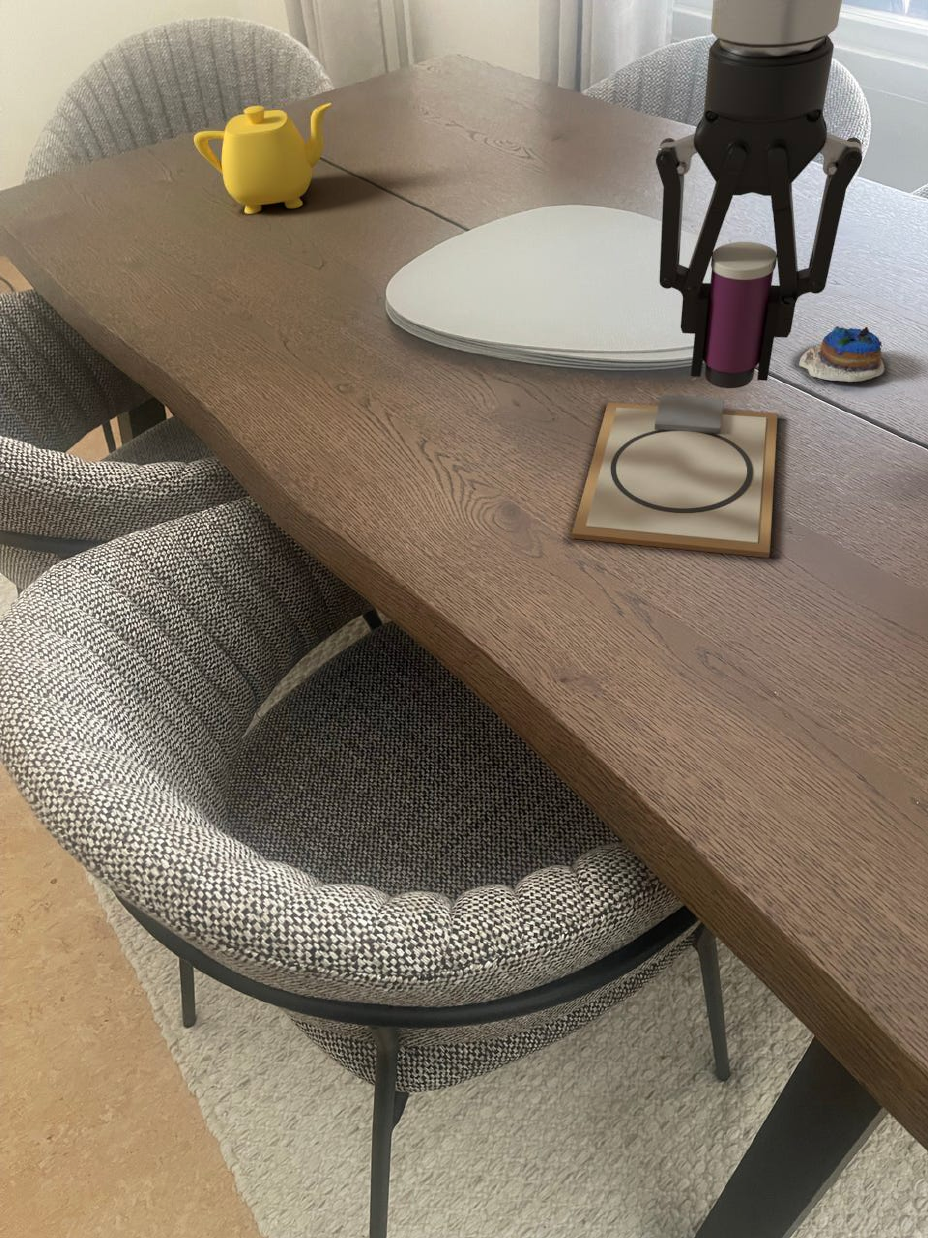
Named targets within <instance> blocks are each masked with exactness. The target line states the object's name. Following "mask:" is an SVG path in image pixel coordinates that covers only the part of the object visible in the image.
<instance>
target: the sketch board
mask: <svg viewBox="0 0 928 1238" xmlns="http://www.w3.org/2000/svg"><path fill="white" fill-rule="evenodd" d="M658 402H659V403H658V404H657V405H656V404H641V403H639V404H638V403H623V402H610V401H609V402H607V405H606V409H605V412H604V415H603V419H602V423H601V426H600V430H599V433H598V437H597V440H596V444H595V449H594V452H593V456H592V459H591V462H590V467H589V470H588V474H587V478H586V482H585V485H584V489H583V493H582V496H581V500H580V503H579V507H578V510H577V514H576V518H575V521H574V525H573V528H572V532H571V538H572V539H575V540H585V541H595V542H603V543H615V544H624V545H634V546H635V545H636V546H644V547H645V546H646V547H655V548H665V549H675V550H685V551H693V552H694V551H695V552H703V553H704V552H705V553H713V554H714V553H715V554H725V555H735V556H743V557H744V556H746V557H754V558H765V559H769V558H770V555H771V542H772V541H771V540H772V539H771V538H772V525H773V523H772V521H773V505H774V489H775V488H774V487H775V485H774V484H775V468H776V450H777V436H778V435H777V431H778V415H779V414H778V412H768V411H767V412H766V411H750V410H749V411H748V410H734V409H724V405H725V398H723V397H720V398H719V397H707V396H689V395H676V394H675V395H674V394H660V397H659V400H658Z"/></svg>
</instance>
